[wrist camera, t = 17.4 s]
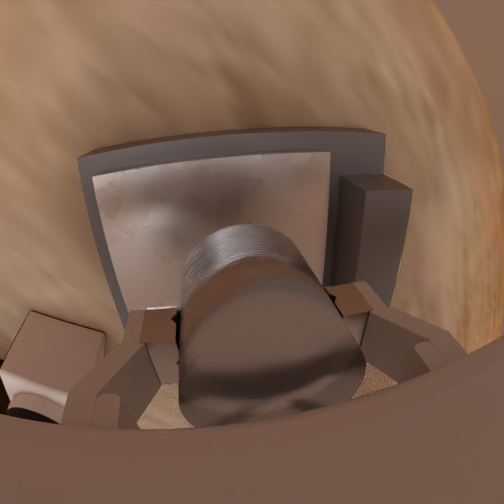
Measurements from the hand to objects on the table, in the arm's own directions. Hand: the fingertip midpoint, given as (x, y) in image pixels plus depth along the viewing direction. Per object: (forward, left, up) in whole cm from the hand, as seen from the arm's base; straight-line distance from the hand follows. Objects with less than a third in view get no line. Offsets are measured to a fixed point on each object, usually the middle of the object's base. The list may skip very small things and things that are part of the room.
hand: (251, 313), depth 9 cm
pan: (-3, +1, -8) cm, 8 cm away
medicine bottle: (-11, +15, -11) cm, 21 cm away
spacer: (0, 0, -2) cm, 2 cm away
